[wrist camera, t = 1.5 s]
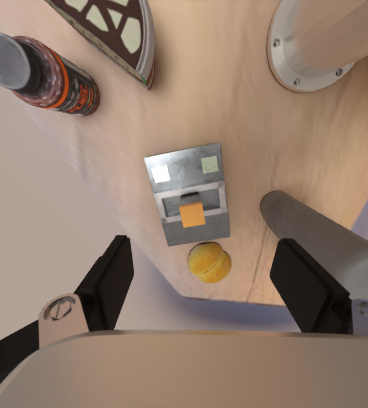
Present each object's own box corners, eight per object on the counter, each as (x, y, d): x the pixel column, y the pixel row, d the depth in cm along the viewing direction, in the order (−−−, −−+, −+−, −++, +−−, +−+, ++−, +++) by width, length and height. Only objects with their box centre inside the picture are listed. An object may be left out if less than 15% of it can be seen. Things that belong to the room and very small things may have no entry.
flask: (250, 206, 31) (346, 307, 13) (278, 185, 30) (431, 265, 11) (292, 254, 35) (411, 384, 17) (318, 237, 34) (481, 361, 15)
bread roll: (209, 234, 34) (212, 246, 30) (235, 261, 36) (240, 275, 33) (178, 256, 36) (178, 269, 32) (204, 280, 38) (207, 296, 35)
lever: (198, 190, 28) (202, 203, 23) (201, 208, 30) (205, 224, 24) (180, 194, 29) (179, 207, 23) (183, 211, 30) (183, 227, 24)
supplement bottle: (94, 124, 26) (34, 116, 16) (55, 103, 25) (-37, 80, 15) (106, 83, 24) (46, 43, 14) (64, 59, 23) (-34, -4, 13)
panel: (218, 142, 27) (221, 142, 25) (228, 232, 33) (231, 240, 31) (145, 157, 28) (142, 159, 26) (169, 242, 34) (167, 250, 32)
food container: (181, 54, 23) (179, -1, 14) (157, 97, 25) (141, 74, 16) (98, -21, 20) (26, -151, 11) (78, 34, 22) (2, -39, 13)
